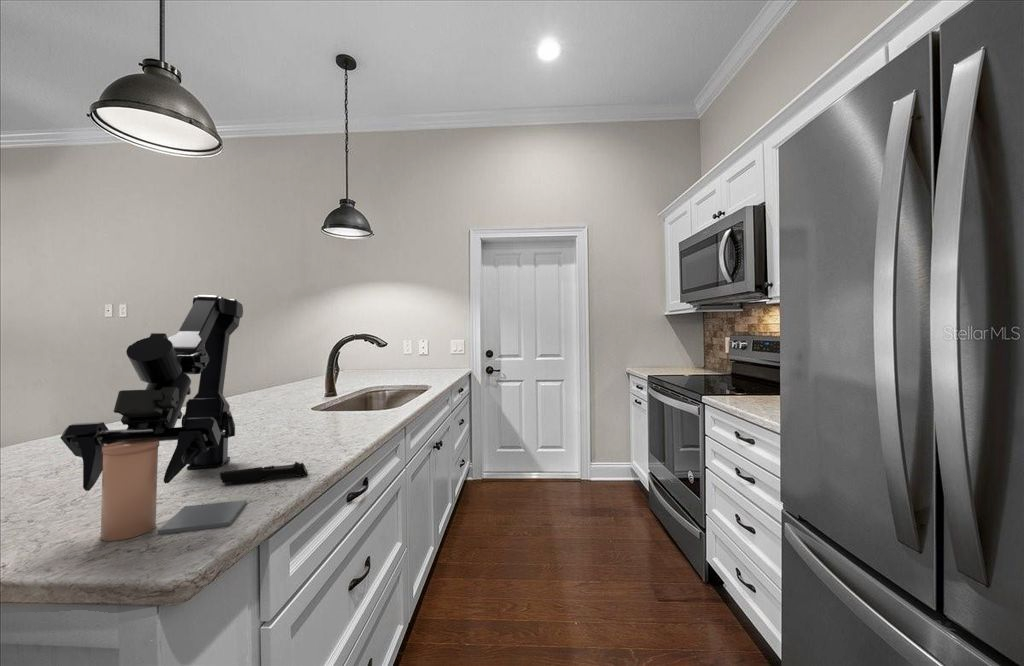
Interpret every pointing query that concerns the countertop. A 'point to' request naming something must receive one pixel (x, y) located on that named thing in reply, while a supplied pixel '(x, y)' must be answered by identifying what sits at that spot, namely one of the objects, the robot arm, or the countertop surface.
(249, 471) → the electric trimmer
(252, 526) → the countertop surface
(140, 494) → the tumbler
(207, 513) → the coaster
